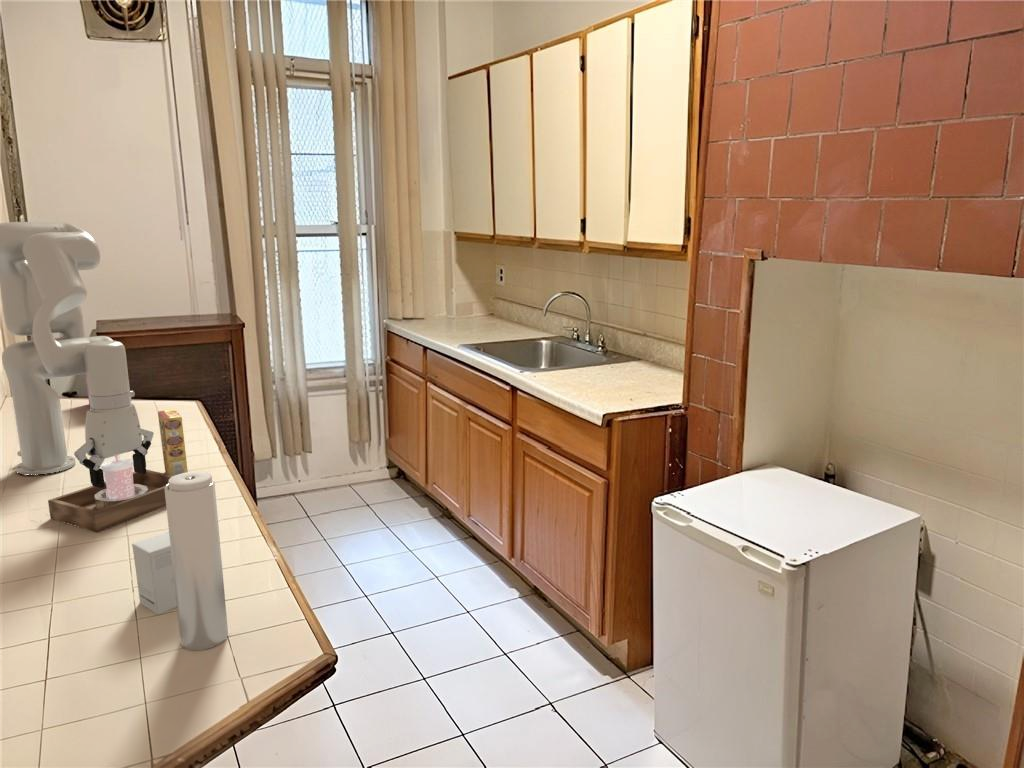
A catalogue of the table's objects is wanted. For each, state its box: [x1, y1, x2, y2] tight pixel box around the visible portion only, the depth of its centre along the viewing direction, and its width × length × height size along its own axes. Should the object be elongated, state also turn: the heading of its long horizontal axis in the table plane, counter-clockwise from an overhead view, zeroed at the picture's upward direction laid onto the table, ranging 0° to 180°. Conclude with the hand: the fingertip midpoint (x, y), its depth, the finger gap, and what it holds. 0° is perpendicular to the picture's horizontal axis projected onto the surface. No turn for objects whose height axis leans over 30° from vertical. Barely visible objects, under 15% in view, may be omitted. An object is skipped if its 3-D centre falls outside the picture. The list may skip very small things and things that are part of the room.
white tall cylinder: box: [164, 471, 229, 651], centre depth 107 cm, size 6×6×25 cm
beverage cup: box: [100, 455, 134, 499], centre depth 158 cm, size 6×6×14 cm
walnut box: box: [47, 469, 173, 533], centre depth 159 cm, size 15×22×4 cm
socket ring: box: [94, 484, 148, 510], centre depth 159 cm, size 10×10×2 cm
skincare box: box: [131, 531, 177, 615], centre depth 121 cm, size 10×6×10 cm, turn 141°
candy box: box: [157, 408, 189, 476], centre depth 178 cm, size 9×4×15 cm, turn 33°
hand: (120, 479), depth 158 cm, fingers open, 9 cm apart
